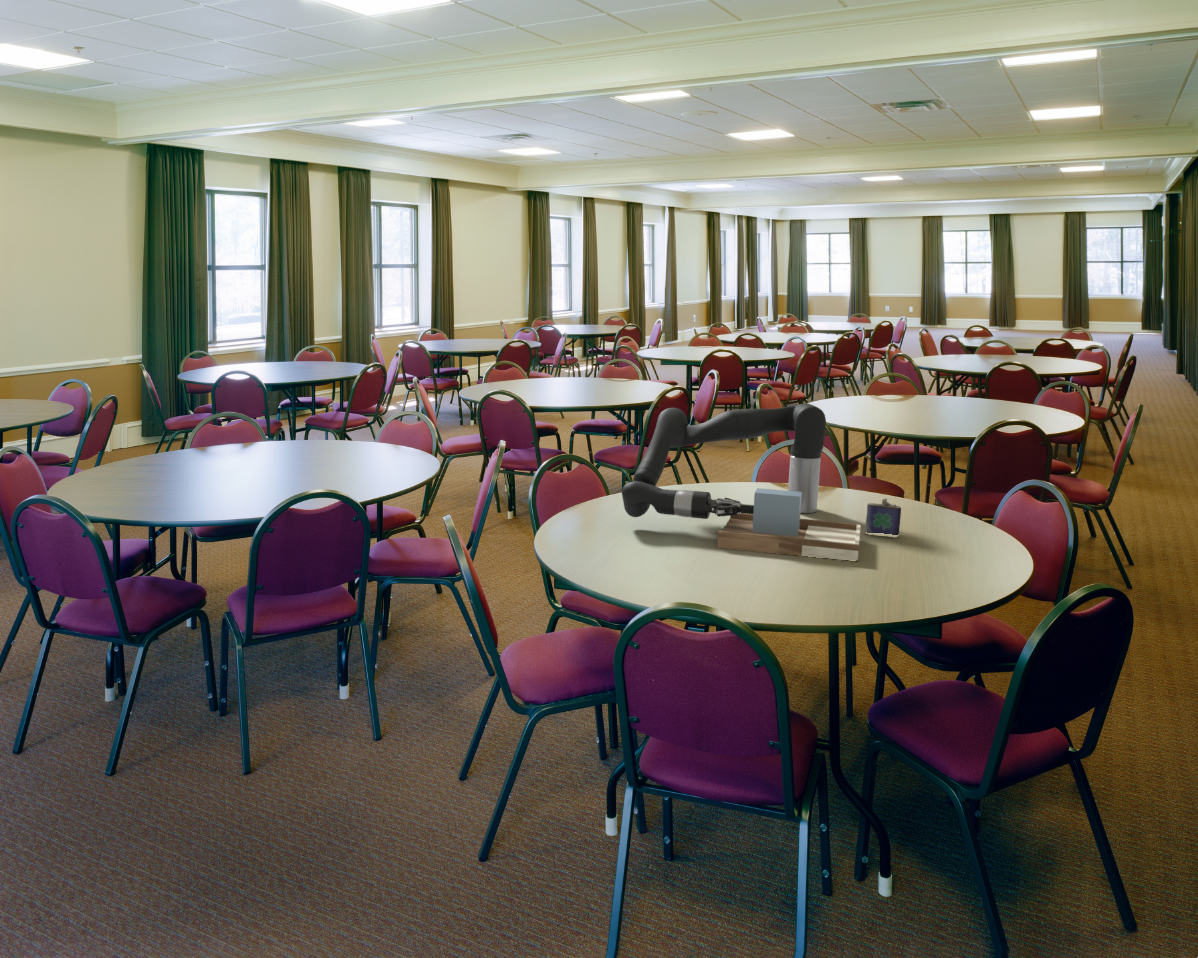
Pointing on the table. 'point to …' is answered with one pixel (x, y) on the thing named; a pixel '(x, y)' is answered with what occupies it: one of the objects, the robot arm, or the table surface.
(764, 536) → the board
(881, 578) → the table surface
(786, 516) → the block
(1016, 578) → the table surface
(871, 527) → the flask
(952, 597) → the table surface
